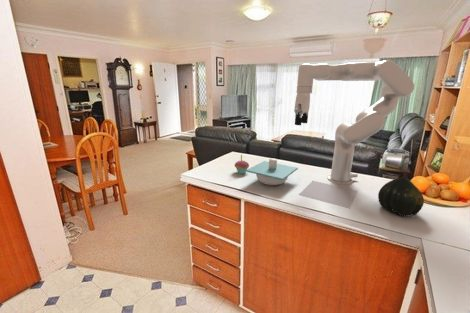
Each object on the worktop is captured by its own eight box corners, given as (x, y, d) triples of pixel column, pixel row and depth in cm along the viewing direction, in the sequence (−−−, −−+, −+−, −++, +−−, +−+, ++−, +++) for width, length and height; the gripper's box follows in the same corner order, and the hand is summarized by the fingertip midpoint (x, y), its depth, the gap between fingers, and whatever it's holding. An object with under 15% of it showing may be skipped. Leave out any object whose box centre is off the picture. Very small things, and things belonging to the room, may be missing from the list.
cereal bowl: (248, 181, 125) (249, 169, 123) (269, 175, 135) (269, 163, 133) (273, 192, 112) (274, 178, 110) (294, 183, 123) (295, 171, 121)
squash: (395, 209, 86) (423, 179, 86) (365, 194, 100) (388, 167, 100) (413, 229, 91) (439, 200, 91) (381, 211, 105) (404, 186, 105)
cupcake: (247, 175, 134) (248, 155, 130) (233, 174, 135) (233, 154, 132) (249, 170, 142) (250, 151, 138) (235, 169, 143) (236, 150, 140)
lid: (264, 162, 135) (264, 152, 134) (297, 169, 124) (298, 158, 123) (246, 171, 119) (246, 160, 118) (282, 180, 109) (283, 168, 107)
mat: (312, 181, 127) (312, 180, 126) (357, 191, 115) (357, 190, 115) (298, 195, 109) (298, 194, 109) (349, 209, 97) (349, 208, 97)
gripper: (302, 90, 127) (299, 121, 132) (290, 90, 113) (288, 125, 118) (316, 90, 123) (313, 123, 128) (306, 90, 109) (302, 126, 114)
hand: (301, 124), depth 123 cm, fingers open, 9 cm apart
